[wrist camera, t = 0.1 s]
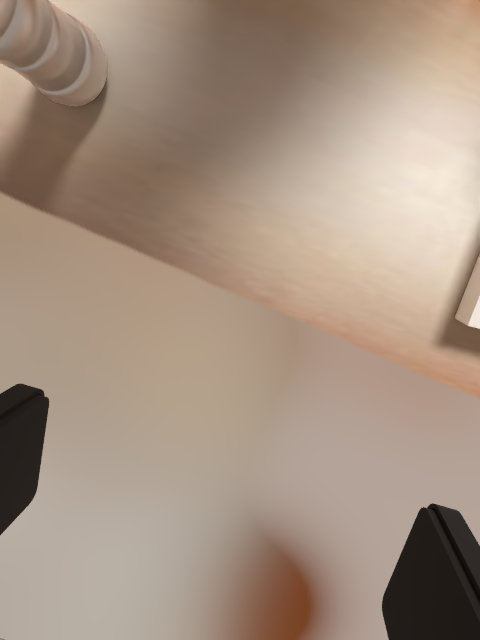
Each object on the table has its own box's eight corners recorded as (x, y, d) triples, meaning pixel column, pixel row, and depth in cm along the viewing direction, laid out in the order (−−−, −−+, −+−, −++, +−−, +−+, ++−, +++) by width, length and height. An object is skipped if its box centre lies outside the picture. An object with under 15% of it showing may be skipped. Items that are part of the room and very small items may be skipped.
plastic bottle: (34, 79, 38) (-227, -67, 19) (76, 14, 37) (-165, -219, 17) (87, 128, 39) (-116, 33, 19) (130, 66, 37) (-45, -105, 18)
